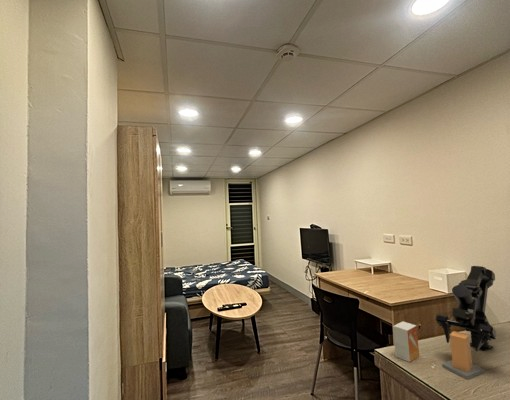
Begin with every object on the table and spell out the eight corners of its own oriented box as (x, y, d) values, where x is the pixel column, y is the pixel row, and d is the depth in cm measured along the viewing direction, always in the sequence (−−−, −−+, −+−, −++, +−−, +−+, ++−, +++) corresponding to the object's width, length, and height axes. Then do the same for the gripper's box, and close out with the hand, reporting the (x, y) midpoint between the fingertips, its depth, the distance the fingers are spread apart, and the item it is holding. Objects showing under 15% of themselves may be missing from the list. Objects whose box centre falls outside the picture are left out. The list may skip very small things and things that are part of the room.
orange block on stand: (456, 361, 107) (453, 330, 107) (472, 366, 103) (468, 334, 103) (452, 366, 103) (449, 334, 104) (468, 371, 100) (465, 338, 100)
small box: (410, 362, 110) (407, 330, 110) (395, 356, 115) (392, 325, 116) (419, 356, 114) (417, 325, 115) (404, 350, 119) (402, 320, 120)
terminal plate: (459, 360, 109) (458, 351, 109) (484, 372, 101) (483, 362, 101) (442, 367, 105) (441, 357, 106) (467, 379, 97) (466, 368, 97)
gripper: (434, 295, 116) (427, 329, 108) (490, 304, 101) (487, 344, 94) (442, 308, 120) (436, 342, 113) (497, 319, 106) (494, 359, 98)
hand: (461, 346), depth 104 cm, fingers open, 9 cm apart
